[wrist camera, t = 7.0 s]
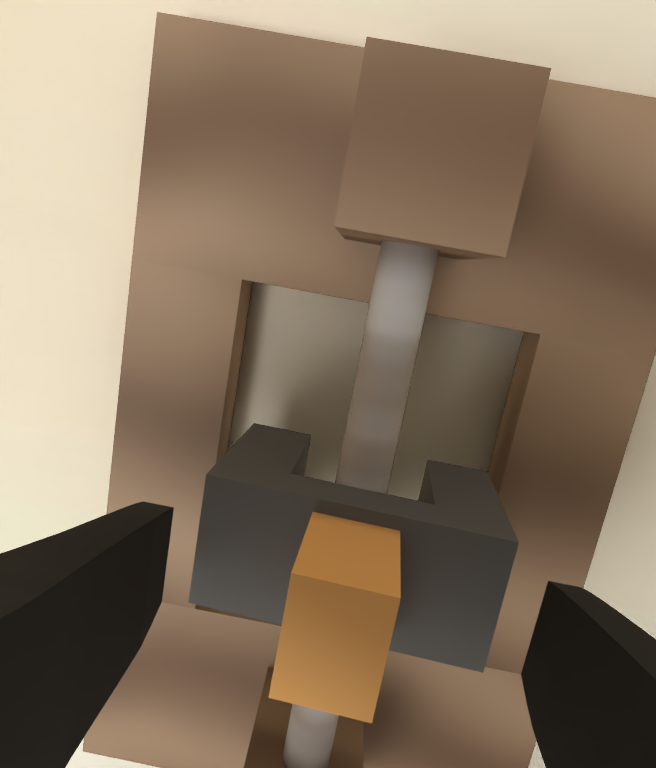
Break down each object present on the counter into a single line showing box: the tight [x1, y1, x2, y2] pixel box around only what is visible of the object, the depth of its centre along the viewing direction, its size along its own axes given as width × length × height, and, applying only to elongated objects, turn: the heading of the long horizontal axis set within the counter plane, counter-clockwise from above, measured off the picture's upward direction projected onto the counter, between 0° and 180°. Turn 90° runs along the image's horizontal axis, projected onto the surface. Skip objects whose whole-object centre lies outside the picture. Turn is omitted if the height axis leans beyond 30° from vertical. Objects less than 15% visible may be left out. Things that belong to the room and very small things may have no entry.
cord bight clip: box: [188, 423, 519, 723], centre depth 12 cm, size 3×6×6 cm, turn 80°
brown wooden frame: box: [83, 12, 656, 768], centre depth 14 cm, size 22×14×6 cm, turn 170°
